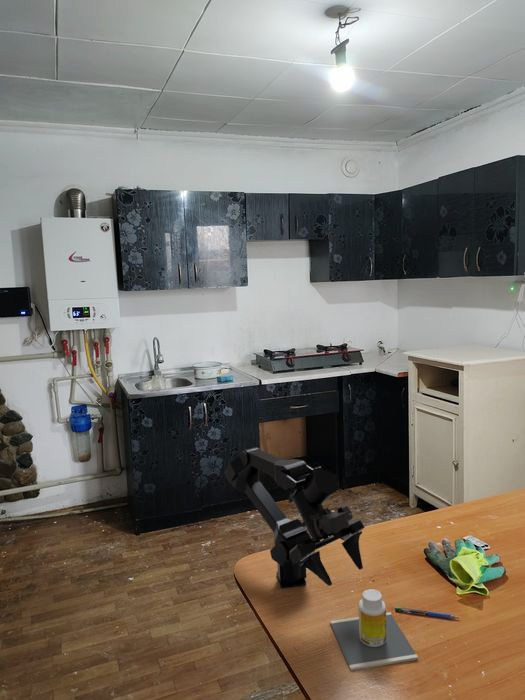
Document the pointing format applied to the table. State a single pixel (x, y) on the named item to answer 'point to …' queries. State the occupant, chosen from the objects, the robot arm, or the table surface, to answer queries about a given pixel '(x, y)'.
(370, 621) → the supplement bottle
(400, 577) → the table surface
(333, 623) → the mat
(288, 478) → the robot arm
